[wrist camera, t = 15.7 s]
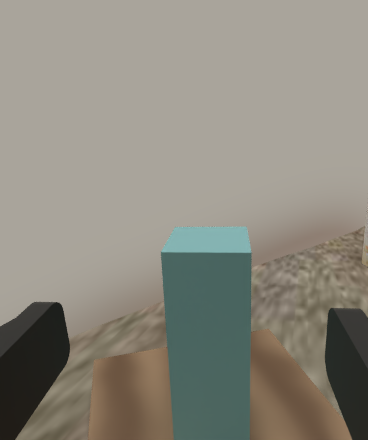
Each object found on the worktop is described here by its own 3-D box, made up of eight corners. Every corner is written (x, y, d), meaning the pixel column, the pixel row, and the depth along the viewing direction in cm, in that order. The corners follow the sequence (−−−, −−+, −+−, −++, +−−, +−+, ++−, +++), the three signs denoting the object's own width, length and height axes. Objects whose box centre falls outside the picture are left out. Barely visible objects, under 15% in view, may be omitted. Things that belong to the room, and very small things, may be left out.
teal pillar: (245, 393, 26) (246, 226, 22) (249, 453, 21) (251, 252, 17) (184, 389, 26) (175, 227, 23) (174, 446, 22) (161, 252, 18)
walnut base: (267, 360, 35) (268, 328, 34) (415, 571, 18) (426, 520, 17) (98, 394, 31) (94, 359, 30) (84, 697, 14) (72, 641, 13)
